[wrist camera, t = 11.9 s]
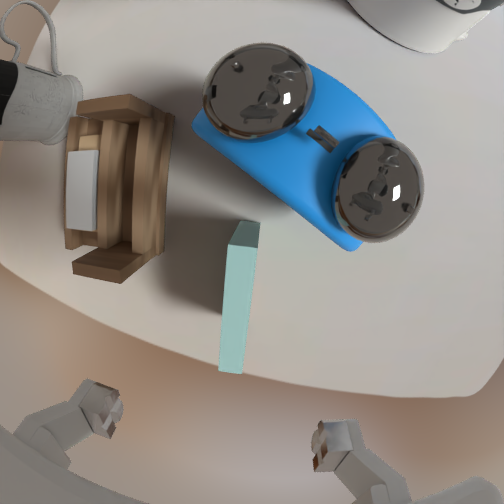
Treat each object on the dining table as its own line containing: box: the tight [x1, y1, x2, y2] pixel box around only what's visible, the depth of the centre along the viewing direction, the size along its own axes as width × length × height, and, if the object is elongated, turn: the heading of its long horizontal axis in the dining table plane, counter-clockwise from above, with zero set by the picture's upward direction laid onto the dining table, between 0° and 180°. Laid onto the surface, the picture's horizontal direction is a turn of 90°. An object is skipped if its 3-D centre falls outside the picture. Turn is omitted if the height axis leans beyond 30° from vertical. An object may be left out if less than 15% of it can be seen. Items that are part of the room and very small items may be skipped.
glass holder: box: [0, 0, 83, 145], centre depth 14 cm, size 9×14×15 cm, turn 156°
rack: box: [64, 94, 175, 284], centre depth 20 cm, size 13×10×8 cm
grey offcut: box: [66, 150, 100, 231], centre depth 21 cm, size 7×3×2 cm, turn 174°
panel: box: [218, 221, 260, 374], centre depth 22 cm, size 10×2×8 cm, turn 174°
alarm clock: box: [192, 42, 424, 251], centre depth 16 cm, size 13×6×15 cm, turn 52°
